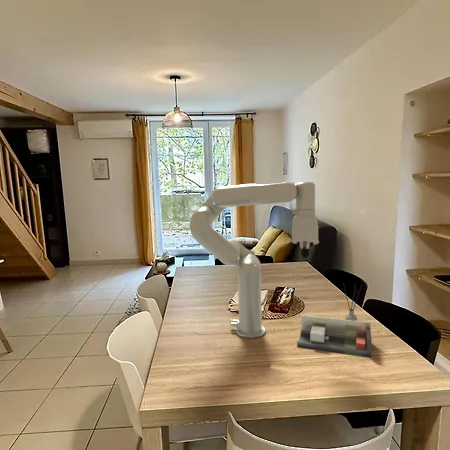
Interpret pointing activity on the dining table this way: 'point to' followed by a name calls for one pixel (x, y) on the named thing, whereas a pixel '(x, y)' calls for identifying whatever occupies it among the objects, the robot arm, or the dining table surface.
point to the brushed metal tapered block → (318, 335)
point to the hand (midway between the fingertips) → (305, 257)
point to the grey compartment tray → (336, 335)
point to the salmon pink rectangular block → (360, 343)
